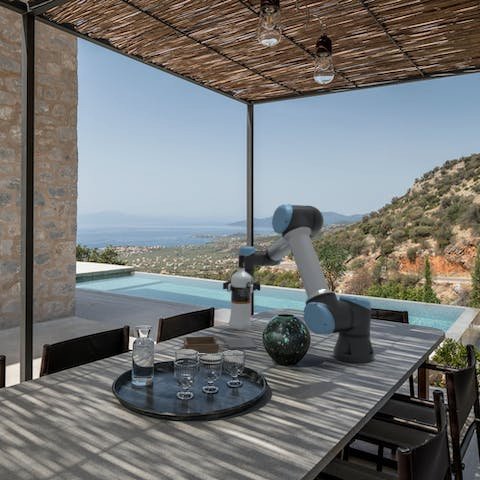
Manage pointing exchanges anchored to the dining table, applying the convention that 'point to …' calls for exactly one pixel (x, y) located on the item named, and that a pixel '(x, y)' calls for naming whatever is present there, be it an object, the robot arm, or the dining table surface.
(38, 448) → the dining table surface
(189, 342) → the bottle well
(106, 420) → the dining table surface
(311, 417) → the dining table surface
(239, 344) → the slate board
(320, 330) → the robot arm
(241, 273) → the vodka
